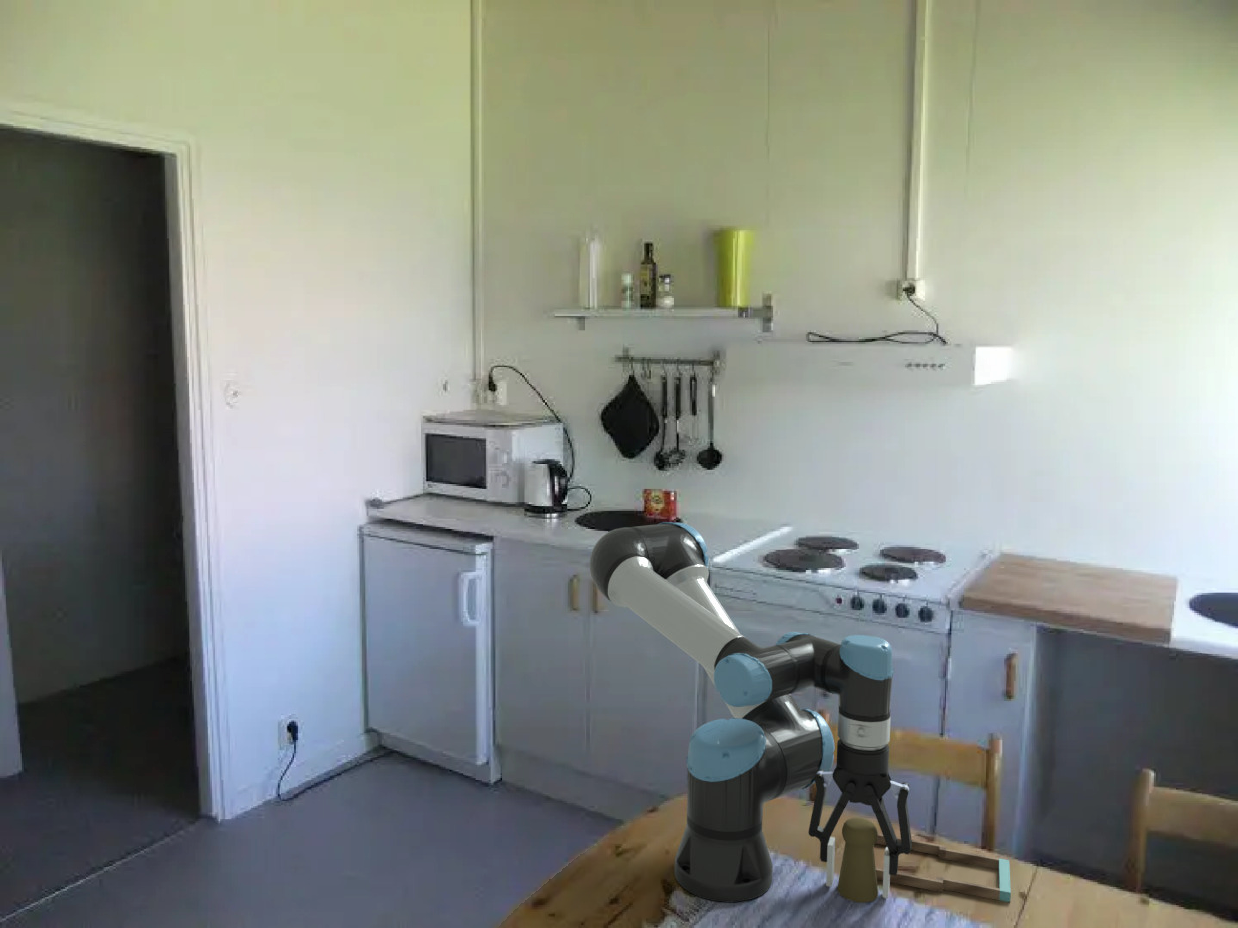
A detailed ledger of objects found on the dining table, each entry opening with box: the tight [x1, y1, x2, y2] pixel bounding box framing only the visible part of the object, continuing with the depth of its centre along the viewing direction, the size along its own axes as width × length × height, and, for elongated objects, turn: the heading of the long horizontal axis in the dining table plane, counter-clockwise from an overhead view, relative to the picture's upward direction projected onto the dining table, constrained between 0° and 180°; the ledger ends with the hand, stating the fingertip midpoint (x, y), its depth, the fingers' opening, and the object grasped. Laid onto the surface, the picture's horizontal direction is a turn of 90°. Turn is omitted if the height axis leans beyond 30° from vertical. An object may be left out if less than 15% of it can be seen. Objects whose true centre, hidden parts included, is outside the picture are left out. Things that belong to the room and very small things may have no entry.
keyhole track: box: [875, 833, 1012, 903], centre depth 149 cm, size 22×12×2 cm, turn 69°
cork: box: [836, 817, 879, 904], centre depth 142 cm, size 6×6×11 cm
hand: (857, 887), depth 143 cm, fingers open, 8 cm apart
